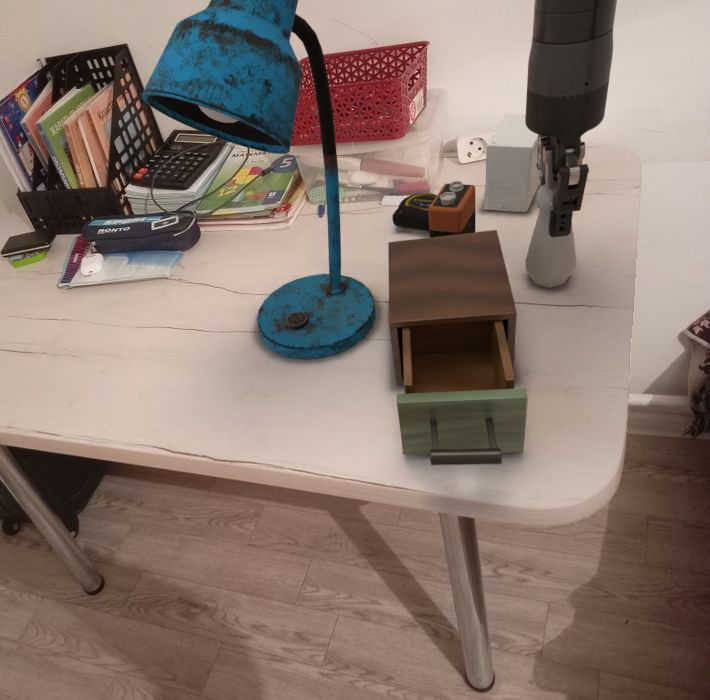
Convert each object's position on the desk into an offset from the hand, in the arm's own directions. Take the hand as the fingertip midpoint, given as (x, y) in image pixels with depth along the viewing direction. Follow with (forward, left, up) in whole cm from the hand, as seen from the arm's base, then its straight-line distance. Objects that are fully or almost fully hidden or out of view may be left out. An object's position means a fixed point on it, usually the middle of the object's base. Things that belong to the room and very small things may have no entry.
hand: (554, 221), depth 74 cm
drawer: (+13, +24, -8) cm, 28 cm away
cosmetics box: (+1, -22, -9) cm, 24 cm away
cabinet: (+13, +10, -8) cm, 18 cm away
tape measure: (+15, -16, -9) cm, 24 cm away
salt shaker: (0, 0, -9) cm, 9 cm away
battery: (+11, -8, -9) cm, 16 cm away
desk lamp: (+31, +6, -9) cm, 33 cm away
